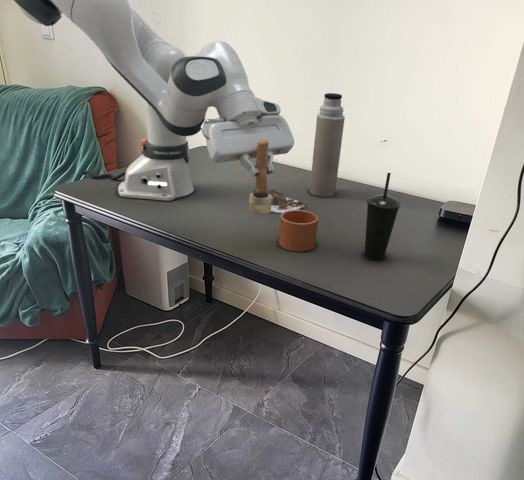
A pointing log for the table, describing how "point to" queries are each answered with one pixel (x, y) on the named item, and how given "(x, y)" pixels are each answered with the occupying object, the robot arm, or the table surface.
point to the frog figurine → (283, 202)
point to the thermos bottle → (327, 146)
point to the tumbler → (298, 230)
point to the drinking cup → (380, 223)
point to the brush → (261, 182)
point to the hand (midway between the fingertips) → (263, 174)
